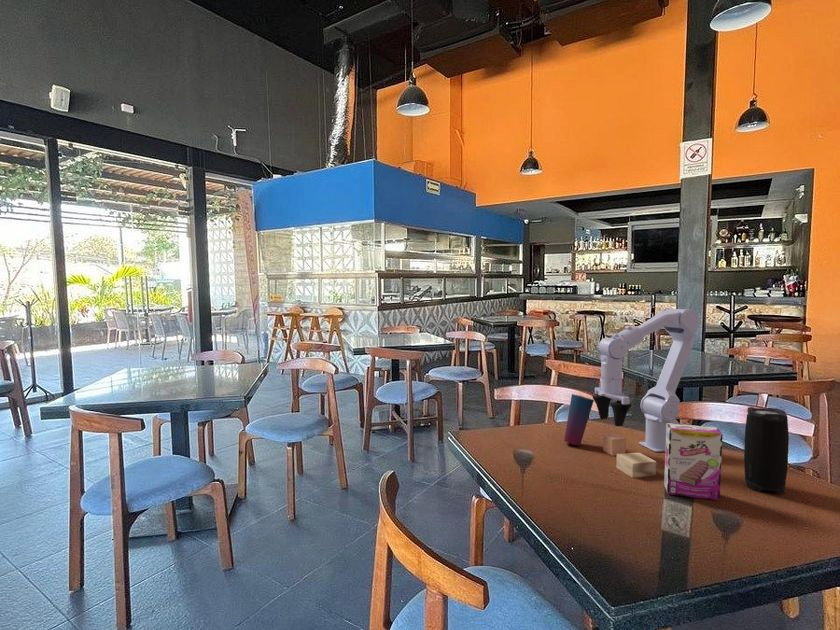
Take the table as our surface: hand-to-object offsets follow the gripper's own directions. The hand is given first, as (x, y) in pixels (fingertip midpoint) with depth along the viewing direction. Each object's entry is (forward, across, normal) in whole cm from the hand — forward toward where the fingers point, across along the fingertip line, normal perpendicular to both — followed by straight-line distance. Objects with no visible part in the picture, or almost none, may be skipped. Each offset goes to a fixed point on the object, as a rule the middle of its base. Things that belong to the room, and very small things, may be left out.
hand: (611, 422), depth 136 cm
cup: (+9, -9, -8) cm, 15 cm away
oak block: (+10, +14, -2) cm, 17 cm away
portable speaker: (+10, +30, +22) cm, 39 cm away
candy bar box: (+10, +29, +2) cm, 31 cm away
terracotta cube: (+9, 0, +1) cm, 9 cm away
